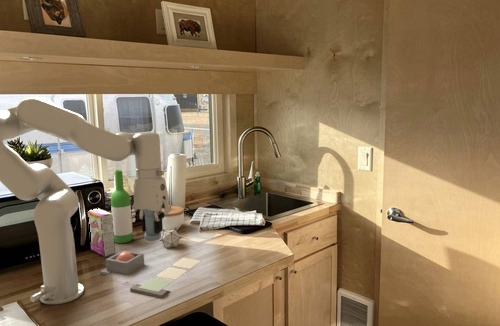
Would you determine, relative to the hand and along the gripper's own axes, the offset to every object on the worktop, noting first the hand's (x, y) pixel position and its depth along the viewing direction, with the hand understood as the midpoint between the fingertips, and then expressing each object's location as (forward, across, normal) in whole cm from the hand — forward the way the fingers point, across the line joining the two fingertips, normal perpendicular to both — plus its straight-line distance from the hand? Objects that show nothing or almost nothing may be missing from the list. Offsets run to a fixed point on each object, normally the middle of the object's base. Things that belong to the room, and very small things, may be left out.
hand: (152, 230), depth 129 cm
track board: (+19, 0, -9) cm, 21 cm away
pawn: (+2, 0, 0) cm, 2 cm away
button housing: (+19, +18, -7) cm, 27 cm away
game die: (+19, +15, -30) cm, 39 cm away
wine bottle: (+19, +39, -30) cm, 53 cm away
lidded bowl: (+19, +29, -50) cm, 61 cm away
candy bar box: (+19, +38, -17) cm, 46 cm away
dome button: (+18, +18, -7) cm, 26 cm away
